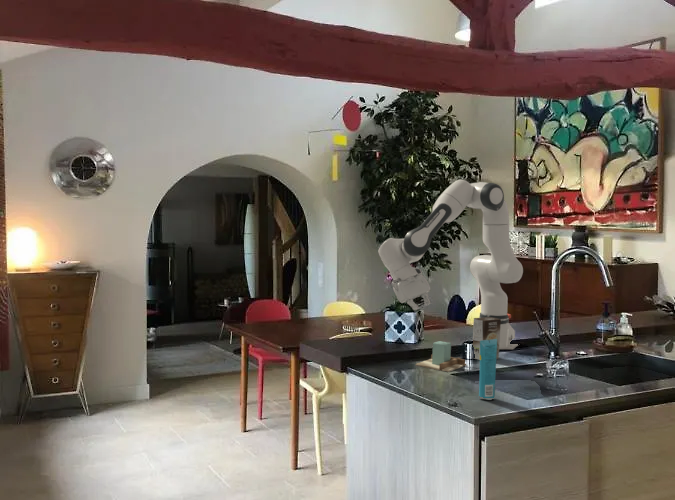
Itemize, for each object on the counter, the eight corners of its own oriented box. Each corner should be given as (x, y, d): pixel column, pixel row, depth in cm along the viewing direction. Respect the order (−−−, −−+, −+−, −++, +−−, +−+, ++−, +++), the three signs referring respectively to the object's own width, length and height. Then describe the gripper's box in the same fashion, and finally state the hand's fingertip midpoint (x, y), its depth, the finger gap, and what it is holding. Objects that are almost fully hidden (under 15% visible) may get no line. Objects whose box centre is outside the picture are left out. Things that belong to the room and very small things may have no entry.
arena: (434, 359, 281) (434, 353, 281) (466, 365, 273) (466, 359, 273) (415, 365, 270) (415, 359, 270) (448, 372, 262) (448, 365, 262)
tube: (487, 395, 233) (490, 337, 231) (499, 398, 229) (502, 339, 227) (472, 399, 228) (475, 339, 226) (484, 402, 224) (487, 342, 223)
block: (438, 361, 275) (439, 341, 274) (450, 363, 272) (451, 343, 271) (432, 363, 271) (432, 343, 270) (443, 366, 268) (444, 345, 267)
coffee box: (482, 361, 280) (484, 320, 279) (471, 357, 285) (472, 318, 284) (499, 358, 285) (501, 318, 284) (487, 355, 291) (489, 316, 289)
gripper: (396, 277, 271) (415, 308, 268) (422, 268, 288) (440, 298, 285) (385, 285, 275) (403, 316, 272) (411, 276, 291) (429, 305, 288)
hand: (422, 307), depth 278 cm, fingers open, 8 cm apart
